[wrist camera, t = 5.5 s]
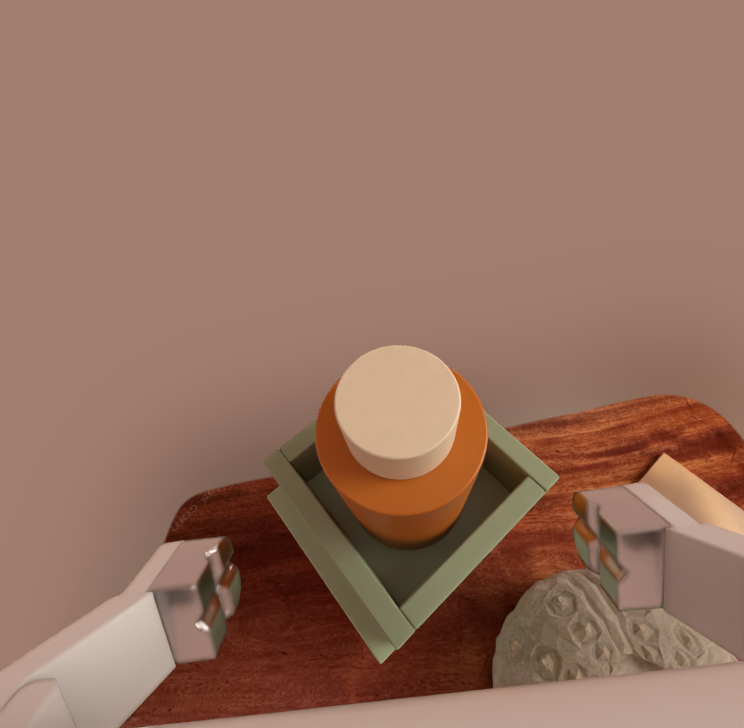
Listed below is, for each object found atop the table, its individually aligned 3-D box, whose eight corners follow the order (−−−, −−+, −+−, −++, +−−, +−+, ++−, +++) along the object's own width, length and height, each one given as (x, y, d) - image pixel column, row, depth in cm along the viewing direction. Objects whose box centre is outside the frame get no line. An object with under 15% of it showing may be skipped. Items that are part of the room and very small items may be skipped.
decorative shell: (786, 820, 27) (950, 915, 19) (545, 906, 26) (604, 1046, 18) (631, 548, 37) (694, 530, 28) (450, 604, 36) (459, 604, 27)
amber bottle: (402, 578, 16) (387, 551, 8) (328, 484, 18) (261, 392, 10) (488, 493, 17) (544, 401, 9) (409, 415, 19) (402, 290, 12)
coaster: (704, 594, 35) (708, 594, 34) (610, 514, 39) (612, 512, 38) (754, 523, 37) (759, 522, 37) (661, 454, 41) (664, 452, 41)
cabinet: (403, 632, 35) (371, 683, 12) (340, 547, 40) (223, 457, 16) (481, 551, 38) (582, 458, 14) (414, 479, 42) (408, 316, 19)
